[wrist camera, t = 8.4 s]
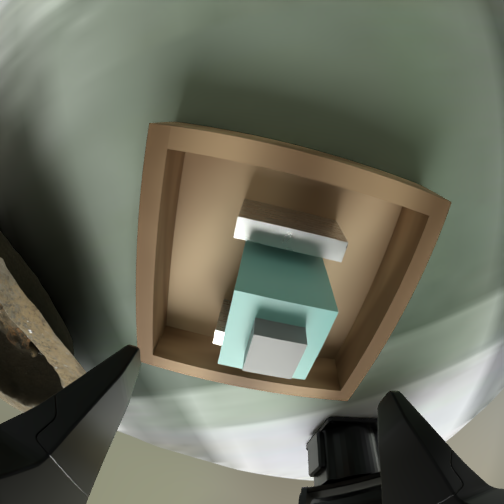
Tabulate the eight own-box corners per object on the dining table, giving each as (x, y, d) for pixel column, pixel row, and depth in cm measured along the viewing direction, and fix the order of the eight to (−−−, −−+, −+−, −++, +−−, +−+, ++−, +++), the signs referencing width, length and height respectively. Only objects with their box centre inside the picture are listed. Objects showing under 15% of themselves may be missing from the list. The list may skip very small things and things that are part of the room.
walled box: (420, 185, 15) (451, 202, 12) (340, 365, 21) (347, 401, 17) (175, 121, 14) (149, 123, 11) (154, 327, 20) (138, 361, 17)
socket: (336, 220, 16) (348, 242, 13) (297, 327, 19) (300, 360, 16) (244, 198, 15) (237, 216, 13) (221, 311, 19) (212, 343, 16)
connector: (318, 247, 16) (343, 328, 10) (298, 305, 18) (306, 396, 12) (248, 230, 16) (230, 305, 10) (233, 291, 18) (213, 380, 12)
